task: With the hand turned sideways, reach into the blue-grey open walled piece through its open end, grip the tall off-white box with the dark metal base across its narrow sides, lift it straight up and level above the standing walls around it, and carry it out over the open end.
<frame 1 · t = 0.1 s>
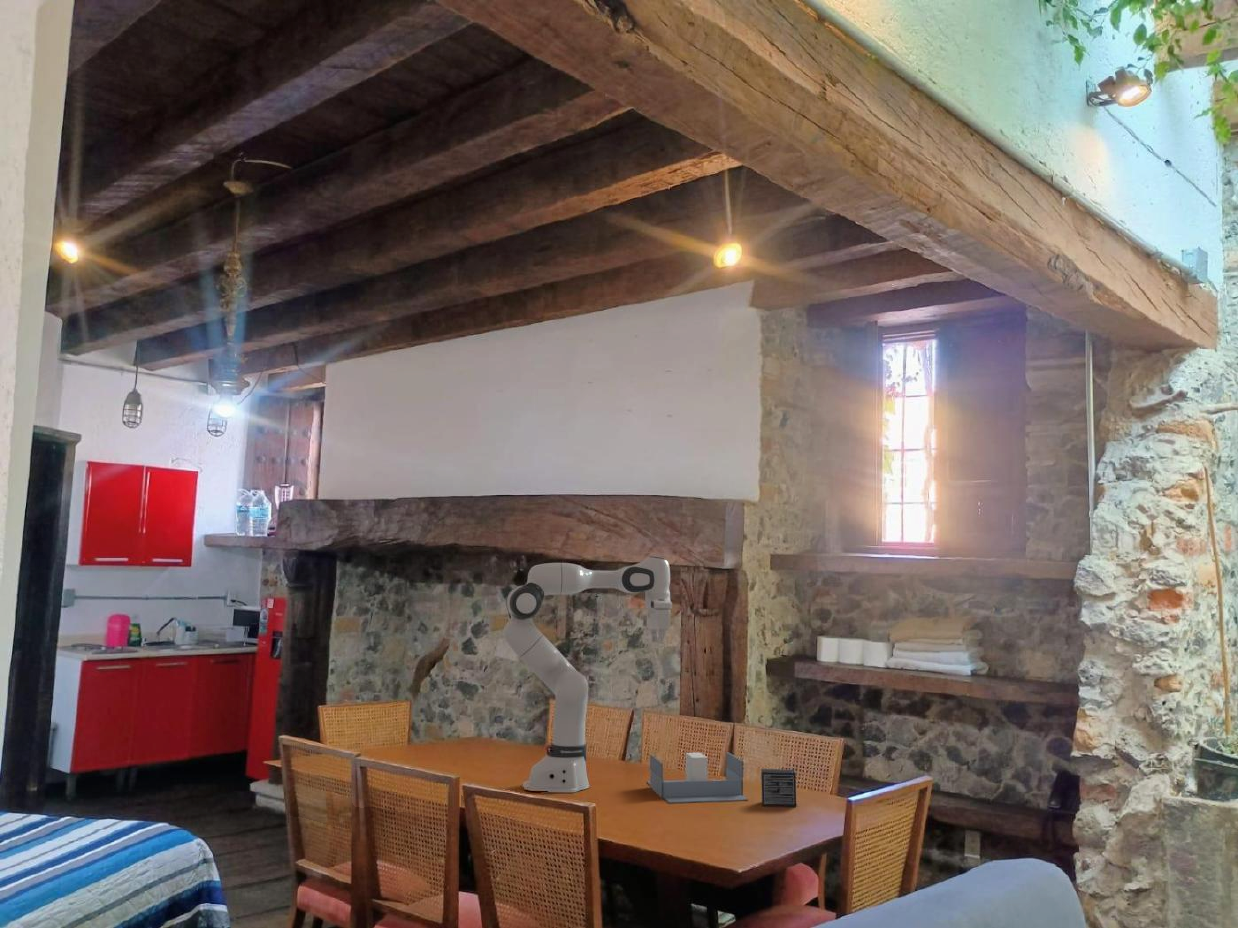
hand: (657, 642, 337), 48 cm above the table, tool pointing down, fingers open, 8 cm apart
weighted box: (696, 792, 319), resting in blue-grey open walled piece
small box: (778, 805, 303), on the table
blue-grey open walled piece: (695, 791, 320), on the table
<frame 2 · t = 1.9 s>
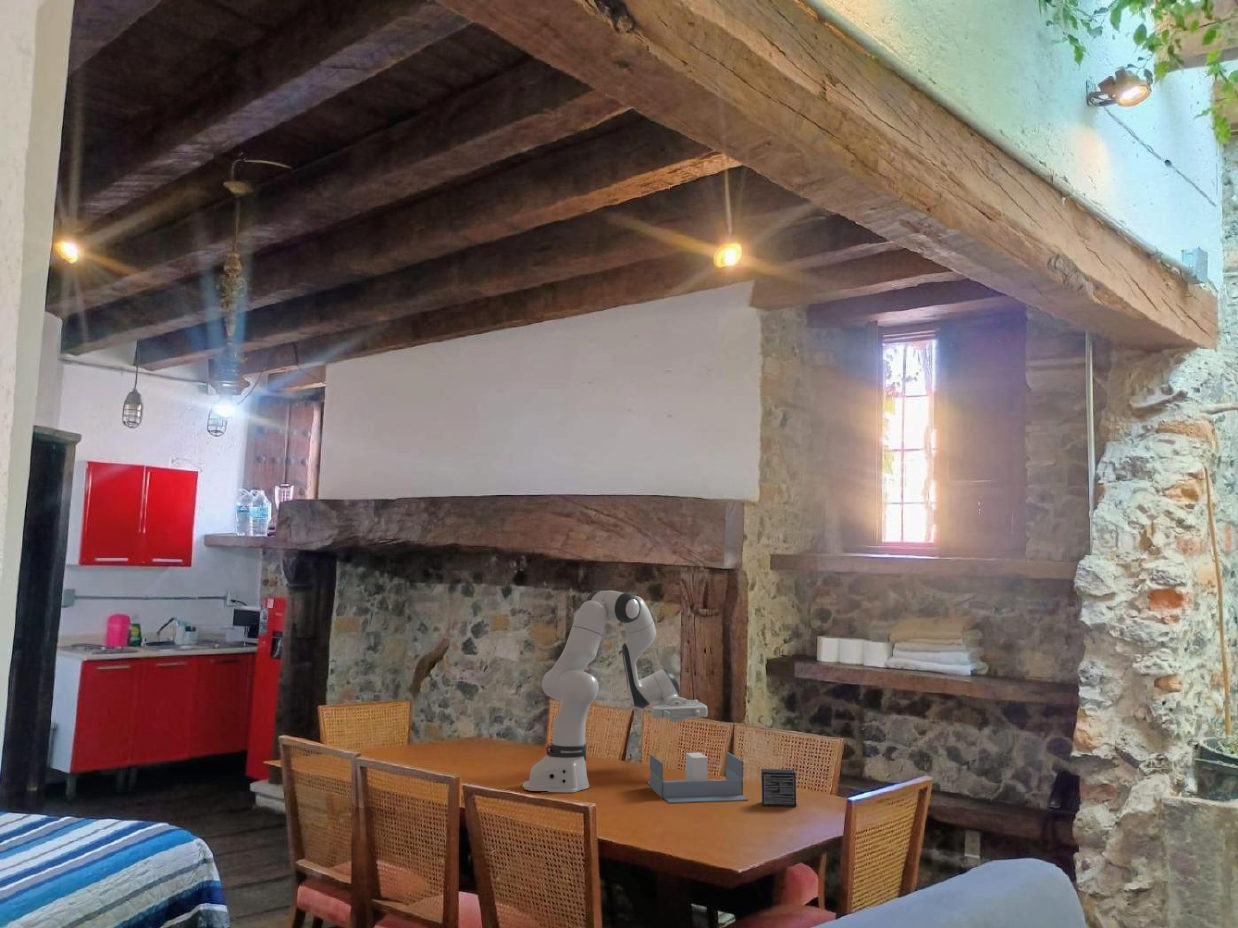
hand: (683, 714, 339), 23 cm above the table, tool horizontal, fingers open, 8 cm apart
nothing on the table moved.
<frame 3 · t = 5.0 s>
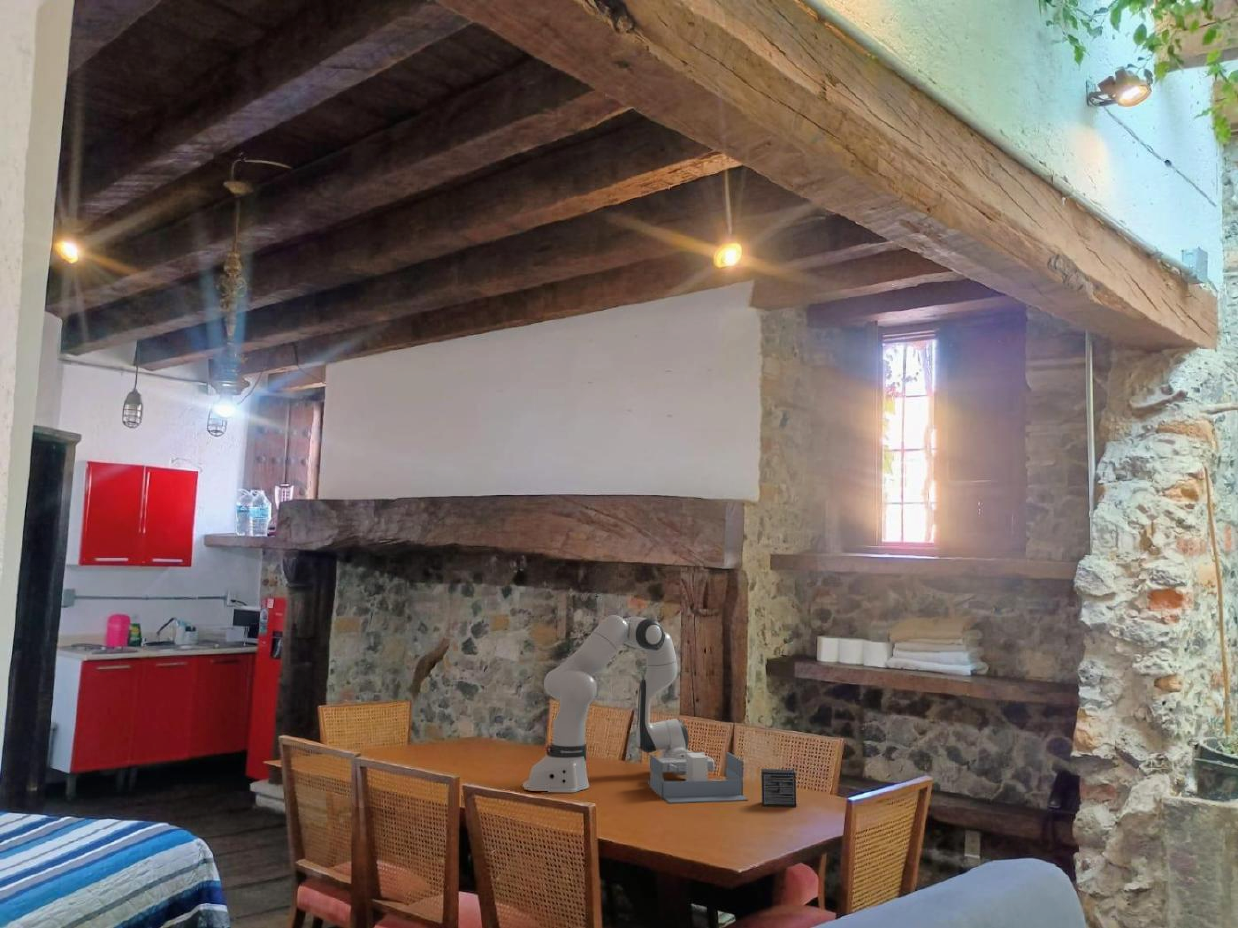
hand: (690, 769, 327), 6 cm above the table, tool horizontal, fingers open, 8 cm apart
nothing on the table moved.
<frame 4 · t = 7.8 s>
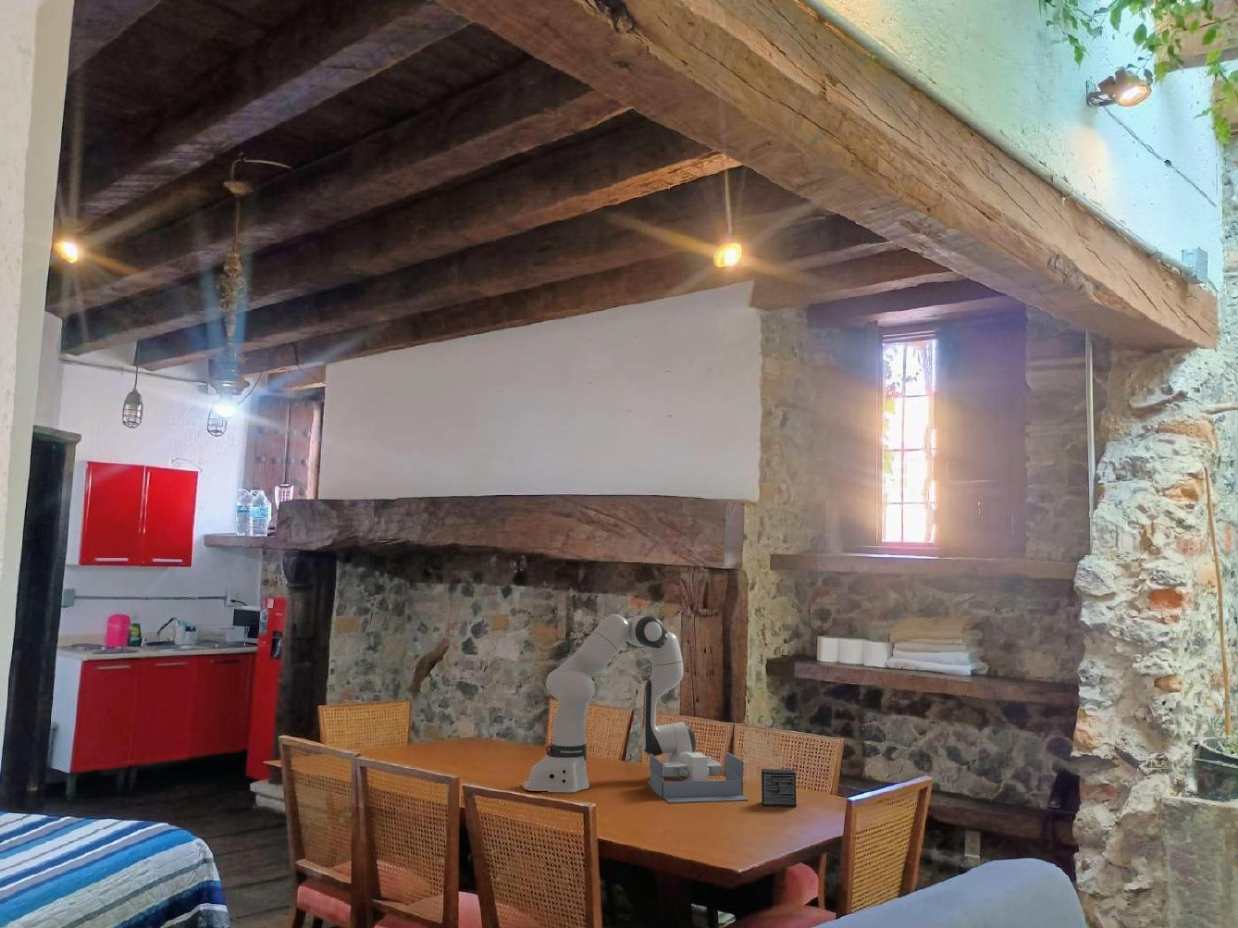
hand: (697, 773, 319), 6 cm above the table, tool horizontal, fingers closed on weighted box, 5 cm apart
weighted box: (696, 791, 319), resting in blue-grey open walled piece, touching gripper
everything else where it was.
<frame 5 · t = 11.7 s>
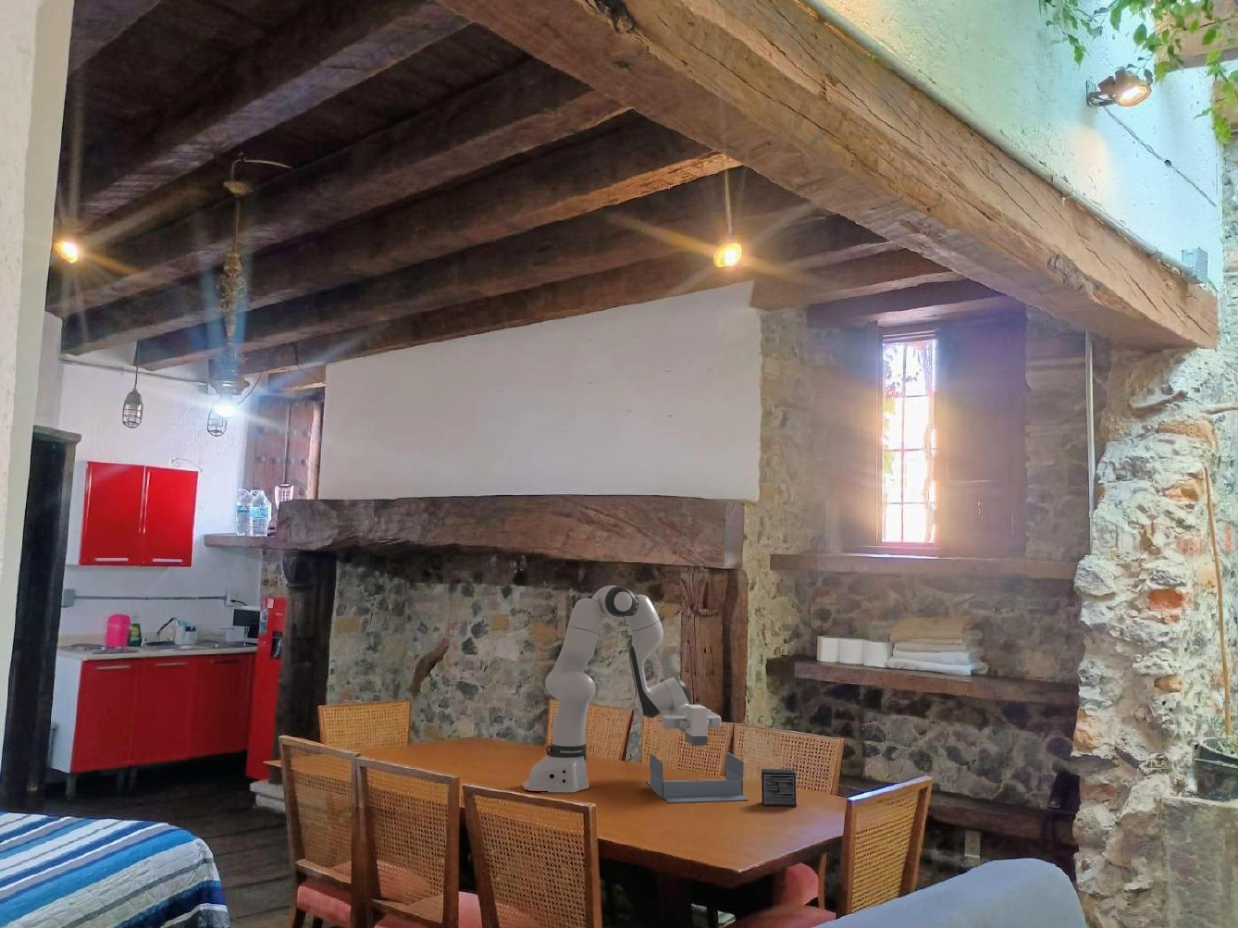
hand: (697, 724, 321), 22 cm above the table, tool horizontal, fingers closed on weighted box, 5 cm apart
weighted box: (696, 743, 321), point 16 cm above the table, touching gripper
everything else where it was.
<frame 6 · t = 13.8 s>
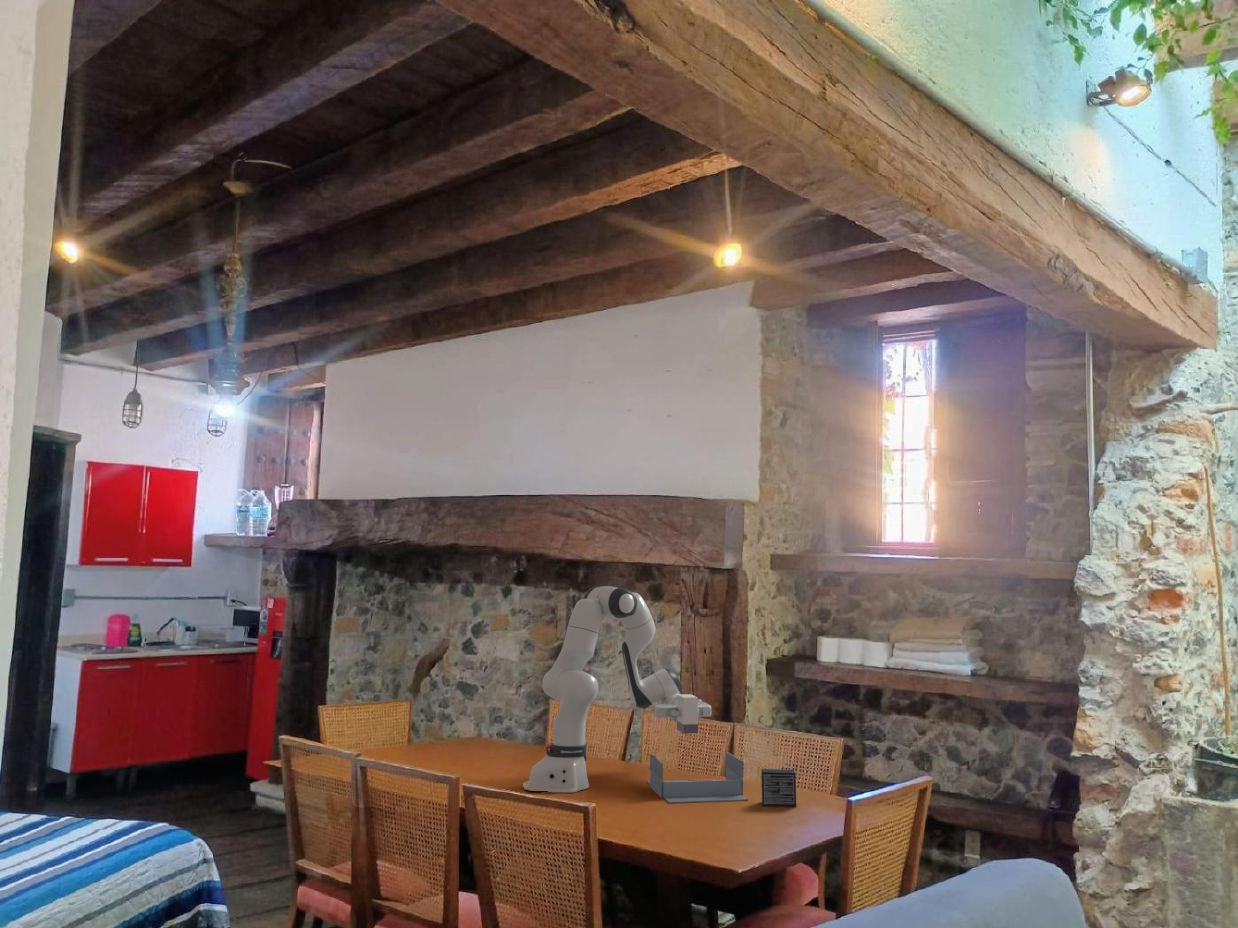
hand: (688, 713, 333), 24 cm above the table, tool horizontal, fingers closed on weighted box, 5 cm apart
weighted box: (687, 731, 333), point 18 cm above the table, touching gripper
everything else where it was.
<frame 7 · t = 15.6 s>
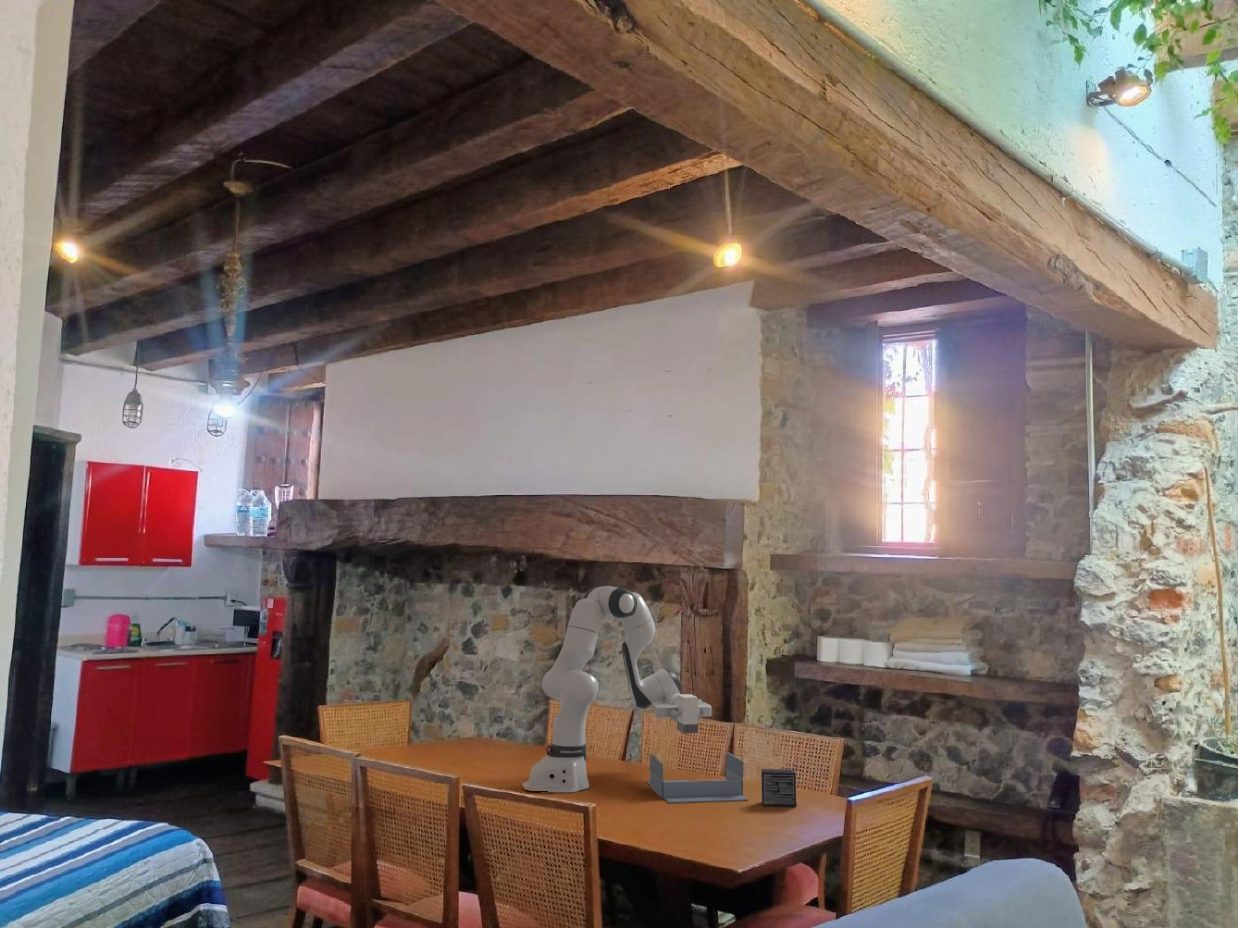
hand: (688, 713, 333), 24 cm above the table, tool horizontal, fingers closed on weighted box, 5 cm apart
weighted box: (687, 731, 333), point 18 cm above the table, touching gripper
everything else where it was.
at the end: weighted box point 17.9 cm above the table; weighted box tilted 0°; the gripper is holding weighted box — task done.
